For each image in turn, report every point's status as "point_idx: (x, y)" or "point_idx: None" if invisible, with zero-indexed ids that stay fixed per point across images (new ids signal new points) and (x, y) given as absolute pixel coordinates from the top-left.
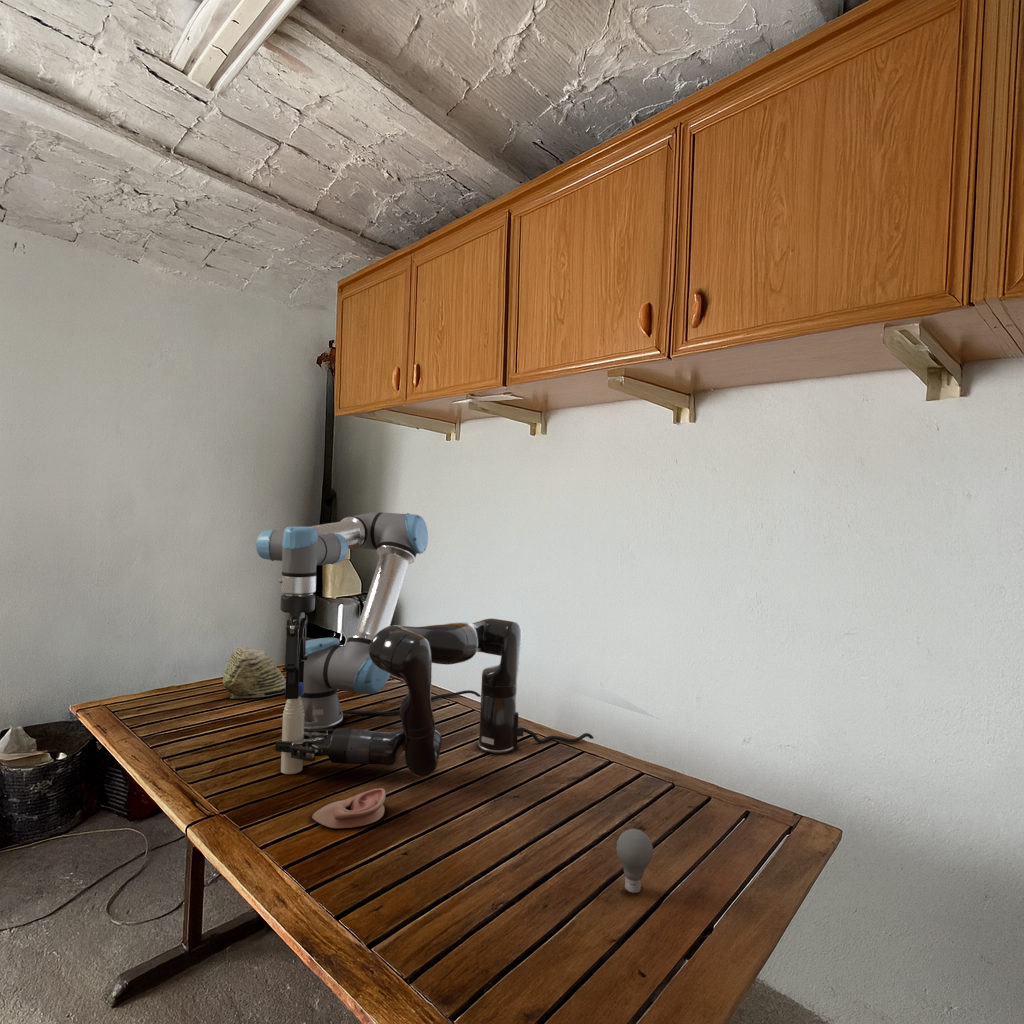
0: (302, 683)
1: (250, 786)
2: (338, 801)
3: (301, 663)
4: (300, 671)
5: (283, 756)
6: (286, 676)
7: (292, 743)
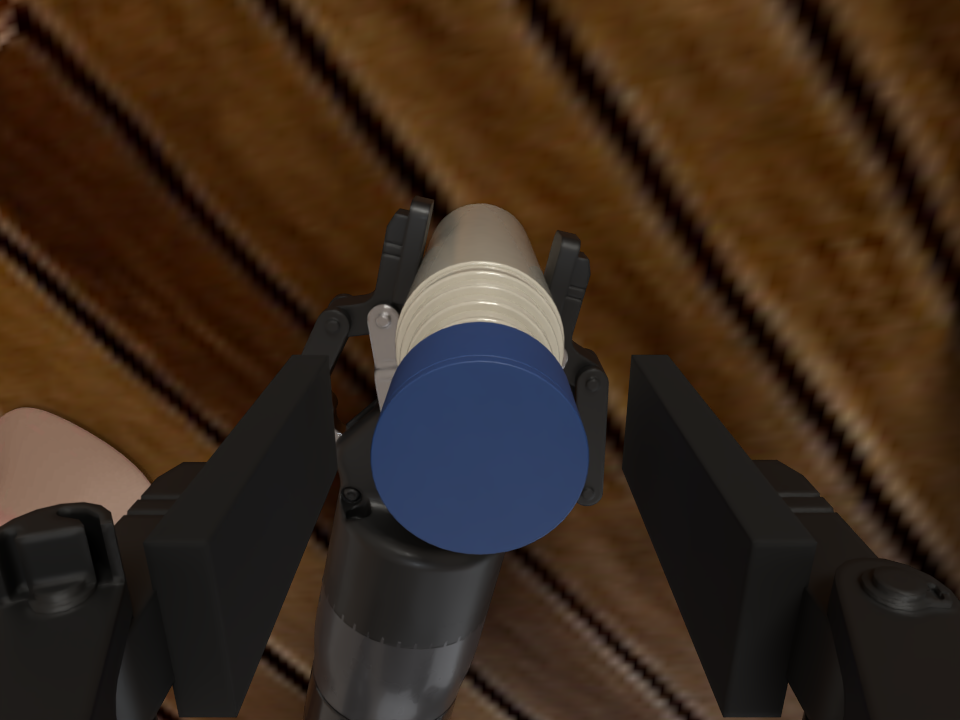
0: (505, 537)
1: (298, 88)
2: (97, 500)
3: (716, 667)
4: (676, 566)
5: (436, 234)
6: (193, 485)
7: (375, 310)
